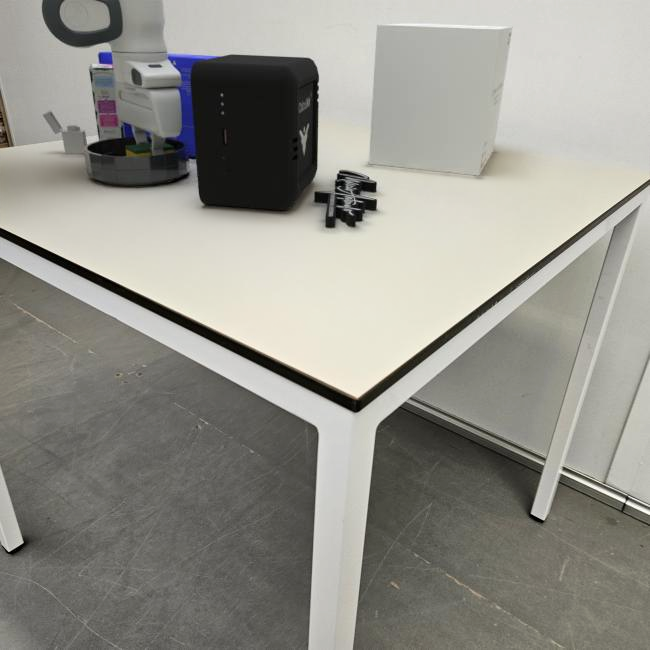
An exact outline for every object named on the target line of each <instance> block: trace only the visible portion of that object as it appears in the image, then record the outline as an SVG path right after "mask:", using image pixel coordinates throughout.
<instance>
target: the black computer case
mask: <svg viewBox="0 0 650 650" xmlns="http://www.w3.org/2000/svg"><path fill="white" fill-rule="evenodd" d="M220 56H221V57H216V58H211V59H206V60H201V61H196V62H195V63H194V64H193V66H192V69H191V75H190V82H191V96H192V110H193V123H194V137H195V151H196V158H195V162H196V176H197V177H196V178H197V190H198V198H199V200H200V202H201V203H202V204H203V205H213V206H225V207H236V208H247V209H248V208H250V209H260V210H273V211H274V210H275V211H288V210H289V209H291V208H292V207H293V206H294V204H296V202H297V201H298V200H299V198H300V197H301V195H303V193H305V191H306V190H307V188H309V186H310V185H311V184H312V182H313V180H314V179H315V178H316V175H317V171H318V167H319V163H318V161H319V155H318V153H319V107H320V106H319V105H320V104H319V103H320V102H319V101H318V100H319V98H320V97H319V95H320V93H318V92H319V90H320V86H319V83H320V74H319V69H318V66H317V64H316V62H315V61H314V60H313V59H312V58H310V57H304V56H303V57H302V56H281V55H280V56H279V55H258V54H257V55H256V54H255V55H253V54H234V53H233V54H232V53H231V54H226V55H220Z"/></svg>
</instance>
